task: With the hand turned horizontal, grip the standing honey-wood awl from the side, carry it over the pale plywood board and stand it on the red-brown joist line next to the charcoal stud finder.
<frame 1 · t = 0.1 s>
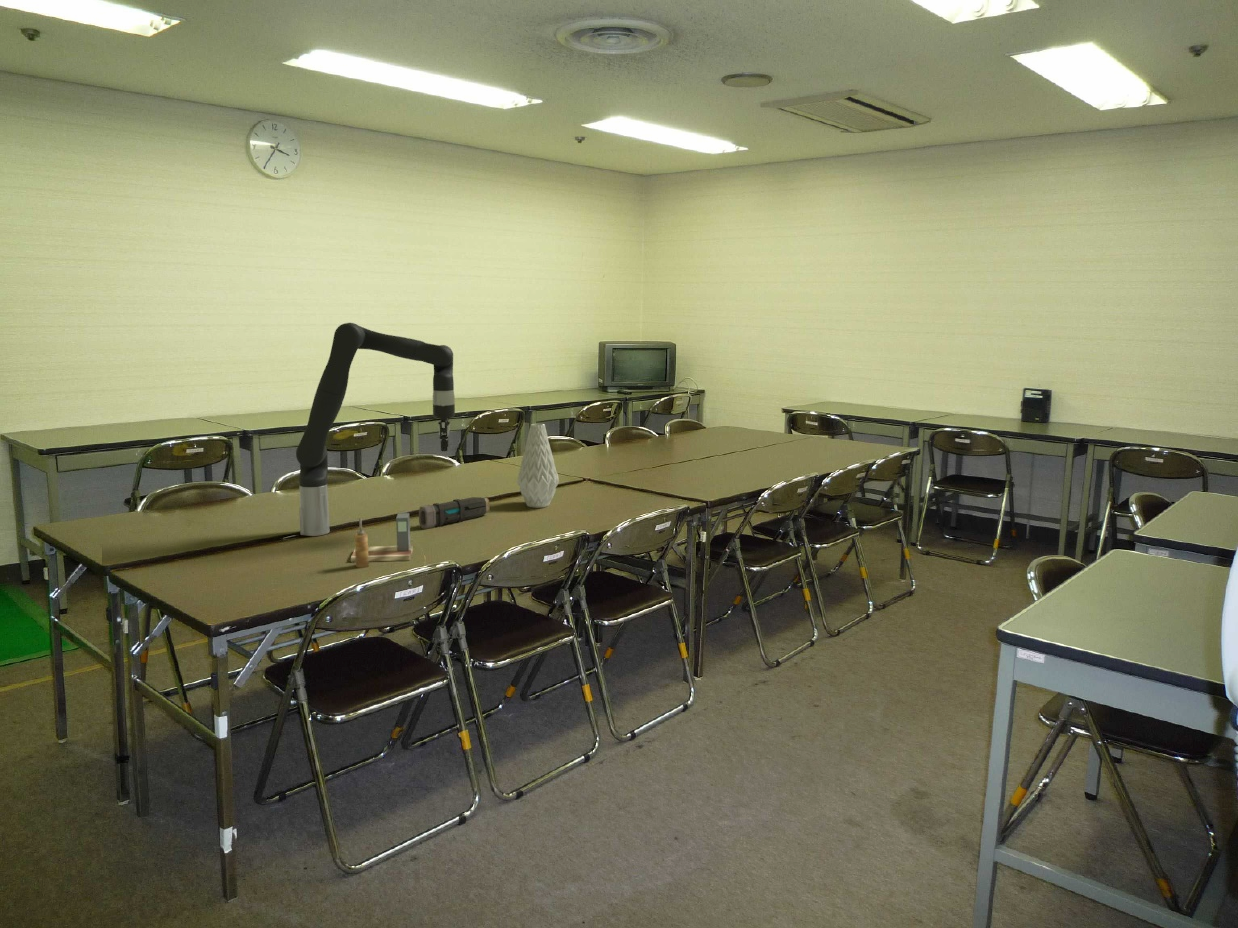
hand: (444, 448, 314), 29 cm above the table, tool pointing down, fingers open, 8 cm apart
tube: (455, 522, 331), on the table
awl: (362, 565, 275), on the table
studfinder: (403, 548, 289), point 1 cm above the table, touching board
board: (382, 555, 286), on the table
vase: (538, 505, 358), on the table
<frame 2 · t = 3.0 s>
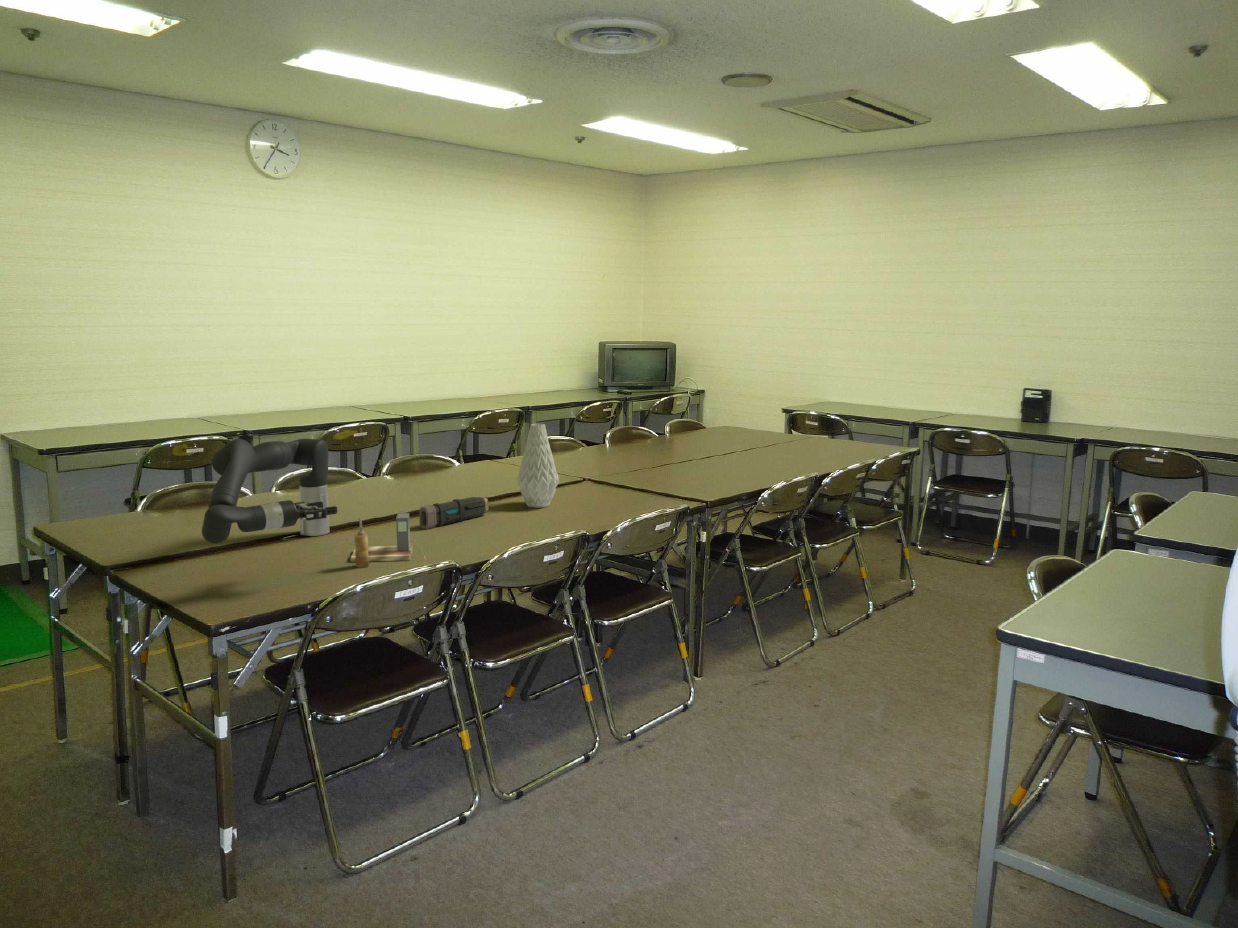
hand: (329, 507, 264), 20 cm above the table, tool horizontal, fingers open, 8 cm apart
nothing on the table moved.
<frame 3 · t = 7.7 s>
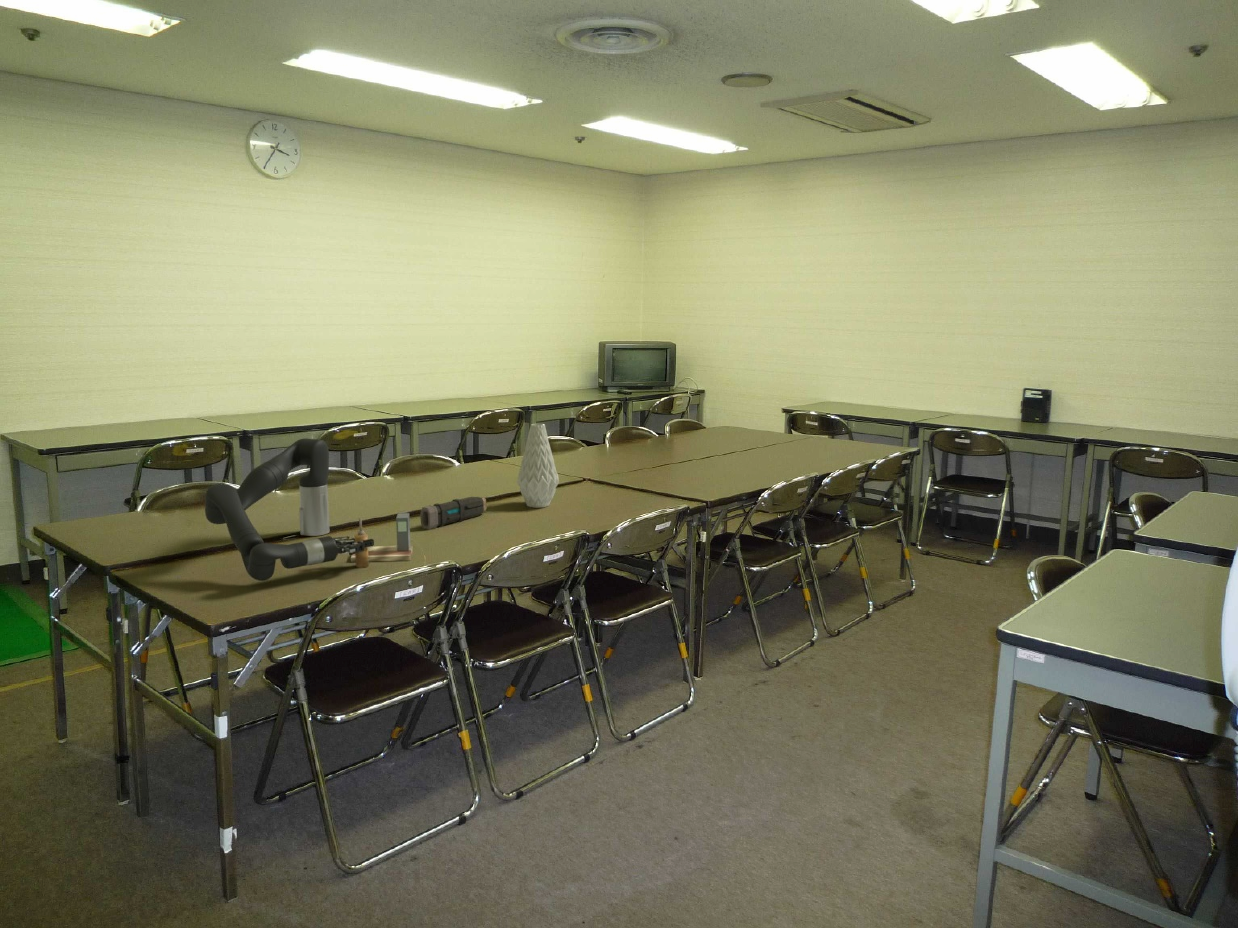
hand: (369, 540, 276), 8 cm above the table, tool horizontal, fingers closed on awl, 3 cm apart
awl: (362, 565, 275), on the table, touching gripper
when the fingers open (10 cm above the table, at t = 11.7 s): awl drops 1 cm, resting on board.
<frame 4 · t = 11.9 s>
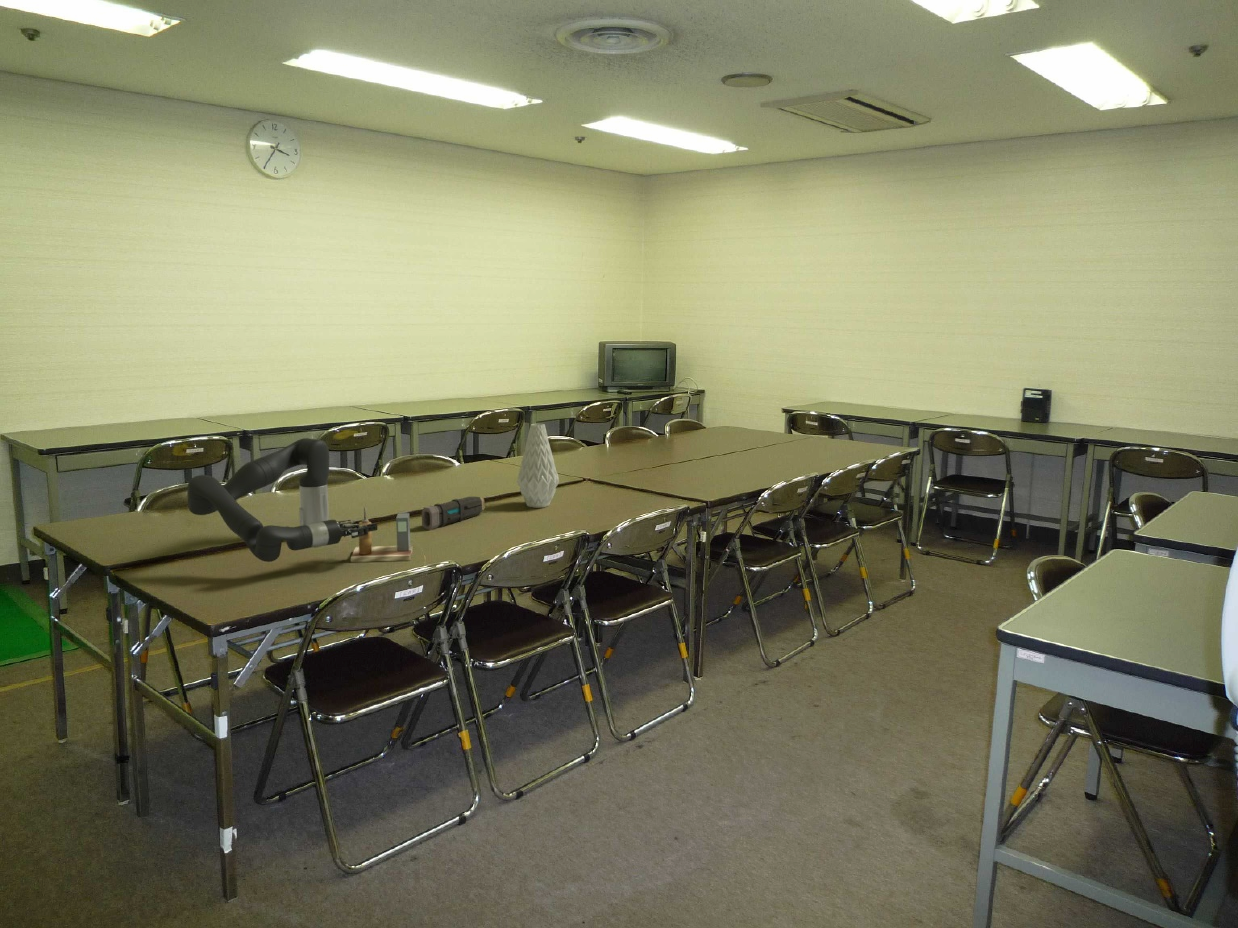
hand: (371, 524, 283), 10 cm above the table, tool horizontal, fingers open, 5 cm apart
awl: (365, 553, 283), point 2 cm above the table, touching board
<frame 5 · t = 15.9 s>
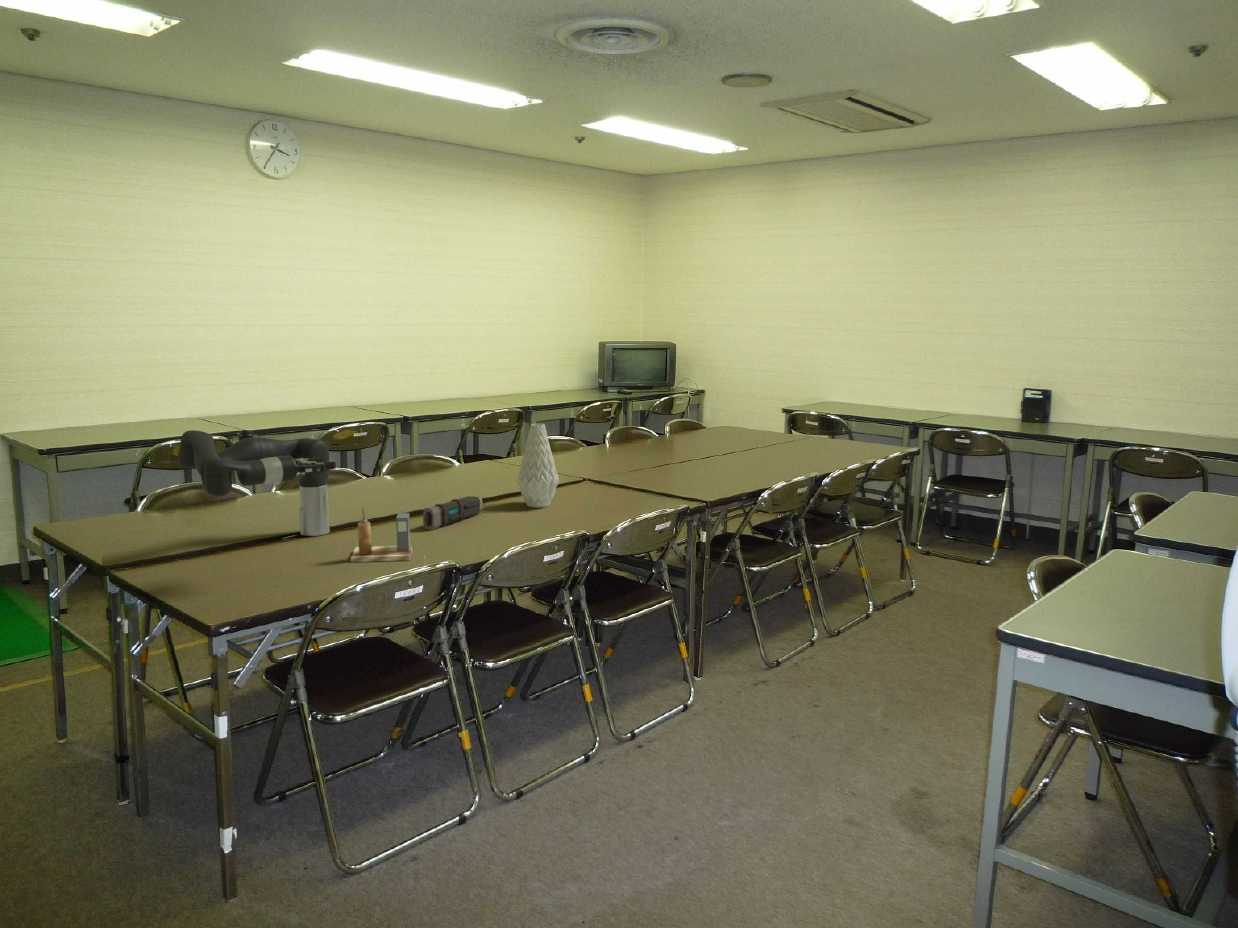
hand: (328, 463, 270), 32 cm above the table, tool horizontal, fingers open, 8 cm apart
at the end: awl inside the target area (0.1 cm from its centre), point 1.5 cm above the table; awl tilted 0°; the gripper is holding nothing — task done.
